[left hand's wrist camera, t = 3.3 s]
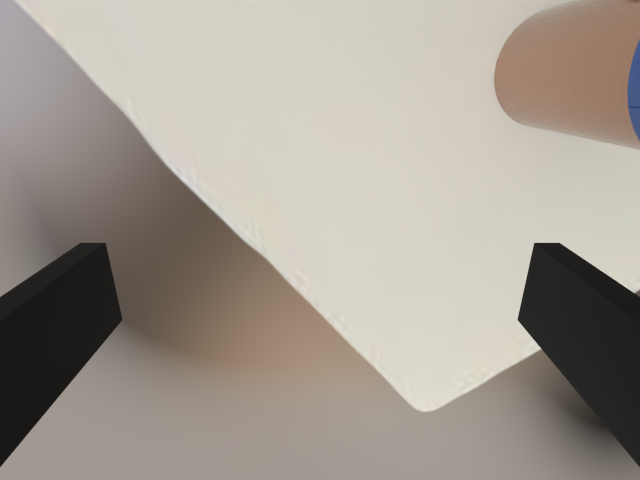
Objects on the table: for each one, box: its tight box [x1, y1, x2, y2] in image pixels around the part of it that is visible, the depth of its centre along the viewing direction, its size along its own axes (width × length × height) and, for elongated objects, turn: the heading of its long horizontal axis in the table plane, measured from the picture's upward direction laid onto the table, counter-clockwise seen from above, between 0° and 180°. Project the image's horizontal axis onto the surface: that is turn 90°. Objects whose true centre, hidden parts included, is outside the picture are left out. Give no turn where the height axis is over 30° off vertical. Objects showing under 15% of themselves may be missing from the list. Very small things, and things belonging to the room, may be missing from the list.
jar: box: [495, 0, 640, 150], centre depth 27 cm, size 10×10×20 cm
